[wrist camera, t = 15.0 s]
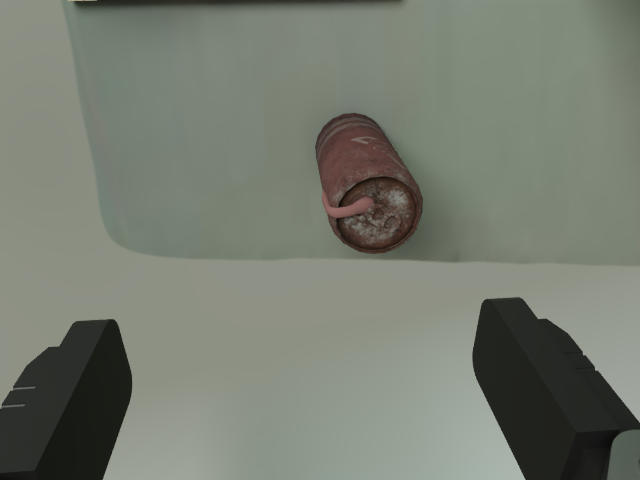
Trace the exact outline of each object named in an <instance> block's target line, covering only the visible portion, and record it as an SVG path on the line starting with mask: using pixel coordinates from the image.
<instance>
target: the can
mask: <svg viewBox="0 0 640 480" xmlns="http://www.w3.org/2000/svg"><path fill="white" fill-rule="evenodd" d="M315 148H316V158H317V163H318V168H319V173H320V179H321V184H322V189H323V192H322V202H323V205H324V208H325V211H326V213H327V214H328V219H329V223H330V225H331V227H332V229H333V232H334V234H335V235H336V236H337V237H338V238H339V239H340V240H341V241H342V242H343V243H344V244H346V245H348V246H349V247H351V248H353V249H355V250H357V251H359V252H364V253H370V254H376V253H385V252H388V251H391V250H393V249H396V248H398V247H399V246H401V245H402V244H403V243H405V242H406V241H407V240H409V238H410V237H411V236H412V234H413V233H414V232H415V231H416V229H417V226H418V223H419V221H420V217H421V214H422V202H423V198H422V195H421V192H420V190H419V187H418V185H417V183H416V182H415V180H414V179H413V177H412V175H411V174H410V172H409V171H408V169H407V168H406V166H405V165H404V163H403V162H402V160H401V159H400V157H399V155H398V154H397V152H396V151H395V149H394V148H393V146H392V145H391V143H390V142H389V140H388V138H387V137H386V135H385V134H384V132H383V131H382V129H381V128H380V127H379V126H378V124H377V123H376V122H375V121H374V120H372V119H370V118H369V117H367V116H365V115H361V114H357V113H350V114H343V115H340V116H338V117H336V118H333V119H332V120H331V121H330V122H328V123H327V124H326V125H325V126H324V127H323V129H322V130H321V132H320V134H319V135H318V138H317V142H316V146H315Z"/></svg>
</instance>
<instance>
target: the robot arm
mask: <svg viewBox="0 0 640 480" xmlns="http://www.w3.org/2000/svg"><path fill="white" fill-rule="evenodd" d="M473 368H474V372H475V376H476V378H477V381H478V383H479V385H480V387H481V389H482V391H483V393H484V395H485V397H486V399H487V401H488V404H489V406H490V407H491V410H492V412H493V414H494V416H495V418H496V420H497V422H498V424H499V426H500V428H501V430H502V432H503V434H504V436H505V438H506V440H507V443H508V445H509V447H510V449H511V451H512V453H513V455H514V457H515V459H516V461H517V463H518V465H519V467H520V469H521V471H522V473H523V475H524V477H525V479H526V480H640V423H639V421H638V420H637V419H636V418H635V416H634V415H633V414H632V413H631V411H630V410H629V409H628V408H627V407H626V405H625V404H624V403H623V402H622V400H621V399H620V398H619V396H618V395H617V394H616V393H615V391H614V390H613V389H612V388H611V386H610V385H609V384H608V383H607V381H606V380H605V379H604V378H603V376H601V374H600V373H599V372H598V371H595V367H594V365H593V364H592V363H591V362H590V360H589V359H588V358H587V357H586V355H585V356H583V352H582V350H581V349H580V348H579V347H578V345H577V344H576V343H575V342H574V340H573V339H572V338H571V337H570V336H569V334H568V333H566V332H565V331H564V330H562V329H561V328H559V327H558V326H556V325H555V324H553V323H552V322H551V321H549V320H548V319H537V317H536V316H535V314H534V313H533V312H532V310H531V309H530V308H529V307H528V305H527V304H526V302H525V301H524V300H523V299H521V298H519V297H518V298H517V297H515V298H497V299H486V300H484V301H483V303H482V305H481V310H480V315H479V320H478V326H477V331H476V337H475V342H474V347H473ZM131 393H132V374H131V370H130V366H129V362H128V359H127V355H126V352H125V348H124V345H123V341H122V337H121V334H120V330H119V327H118V324H117V322H116V321H115V320H113V319H107V320H89V321H76V322H75V323H73V324H72V326H71V328H70V329H69V331H68V333H67V334H66V336H65V338H64V339H63V341H62V343H61V344H60V346H59V347H48V348H47V349H46V350H45V351H43V352H42V353H41V354H40V355H39V356H38V357H37V358H36V359H34V360H33V361H32V362H30V363H29V364H28V365H27V366H26V368H25V369H24V371H23V372H22V374H21V375H20V377H19V379H18V380H17V382H16V383H15V385H14V386H13V391H10V392H9V394H8V396H7V397H6V399H5V400H4V402H3V403H2V408H1V409H0V480H102V479H103V477H104V474H105V471H106V468H107V465H108V462H109V459H110V457H111V454H112V450H113V448H114V445H115V442H116V439H117V437H118V434H119V431H120V428H121V425H122V422H123V419H124V417H125V414H126V410H127V408H128V405H129V402H130V398H131Z"/></svg>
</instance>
